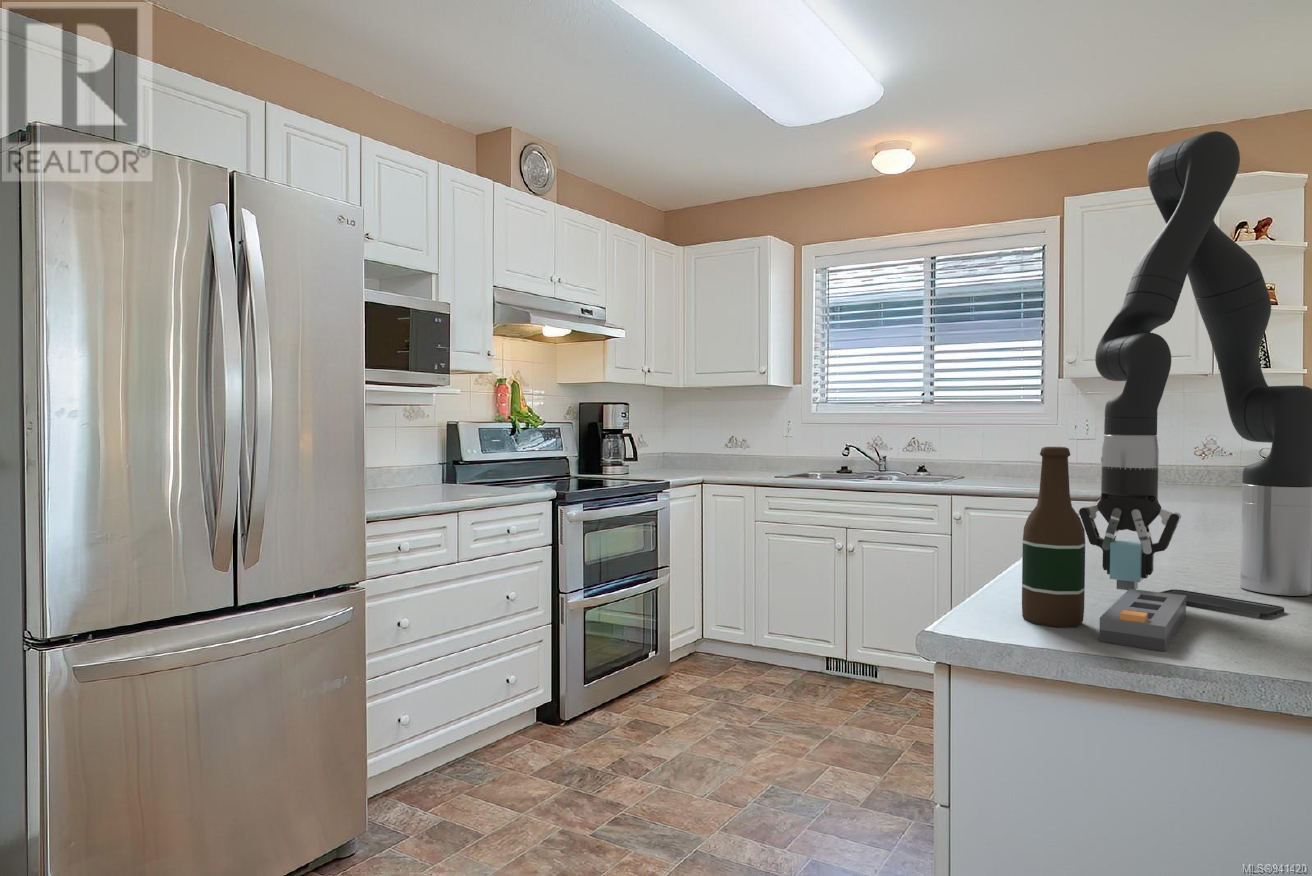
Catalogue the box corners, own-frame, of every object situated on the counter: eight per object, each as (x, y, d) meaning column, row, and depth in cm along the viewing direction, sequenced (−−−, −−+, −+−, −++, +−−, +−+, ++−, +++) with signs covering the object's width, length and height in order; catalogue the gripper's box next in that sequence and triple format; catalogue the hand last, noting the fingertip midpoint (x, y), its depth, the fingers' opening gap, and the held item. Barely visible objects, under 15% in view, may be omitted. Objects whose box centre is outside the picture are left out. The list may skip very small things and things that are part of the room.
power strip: (1129, 609, 118) (1129, 583, 118) (1185, 616, 114) (1186, 589, 114) (1099, 641, 101) (1099, 611, 101) (1164, 651, 97) (1165, 620, 97)
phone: (1174, 588, 129) (1287, 607, 117) (1174, 595, 129) (1286, 614, 117) (1149, 594, 125) (1264, 614, 112) (1149, 601, 125) (1263, 622, 112)
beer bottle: (1079, 616, 114) (1082, 446, 113) (1089, 630, 106) (1092, 448, 106) (1018, 612, 116) (1021, 445, 115) (1024, 625, 109) (1027, 447, 108)
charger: (1115, 584, 128) (1116, 539, 127) (1144, 587, 125) (1145, 542, 125) (1109, 589, 124) (1110, 543, 124) (1139, 592, 121) (1140, 545, 121)
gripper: (1187, 465, 122) (1184, 578, 123) (1083, 461, 131) (1081, 566, 132) (1181, 467, 117) (1178, 585, 117) (1073, 463, 126) (1070, 573, 126)
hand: (1127, 575), depth 124 cm, fingers closed on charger, 4 cm apart
